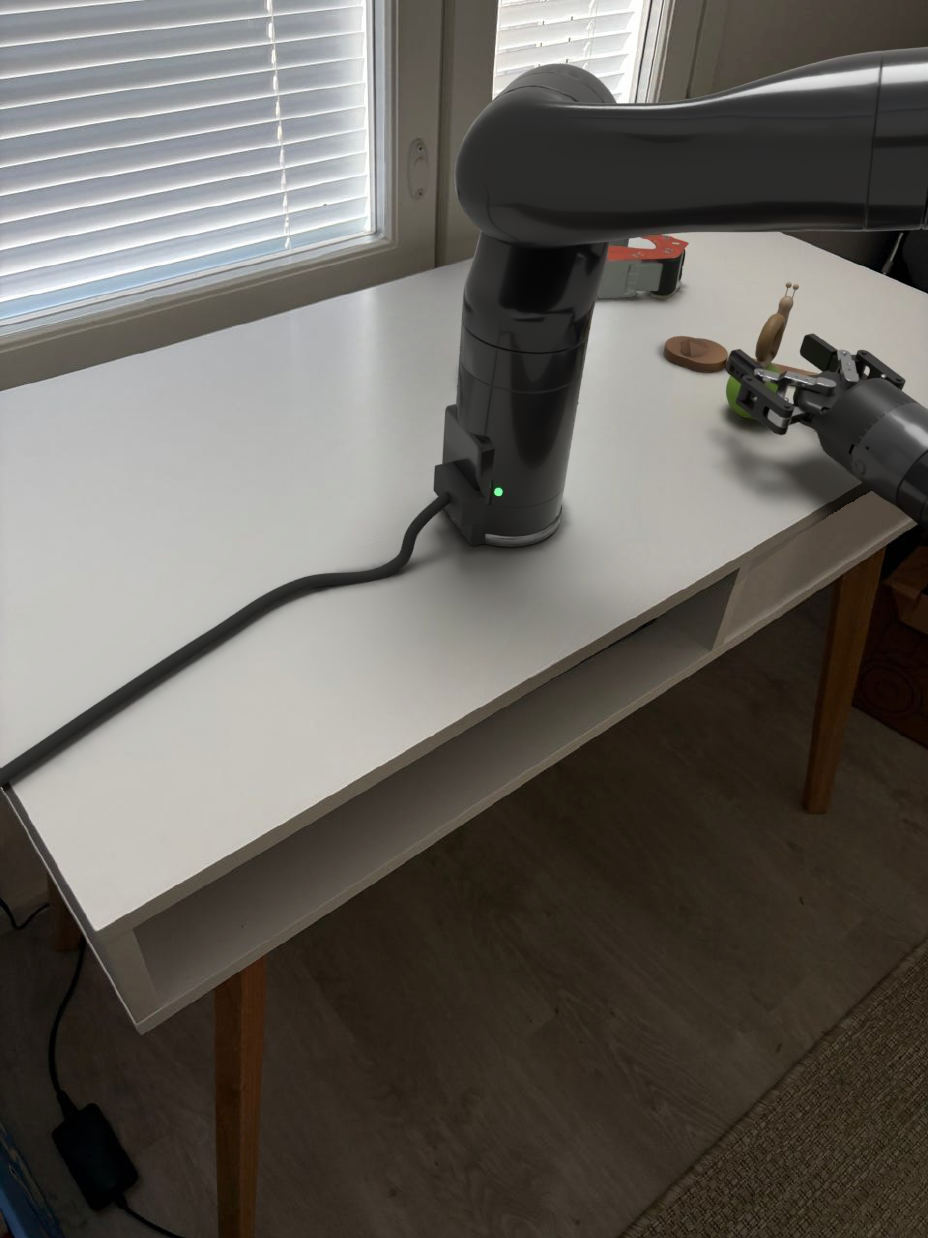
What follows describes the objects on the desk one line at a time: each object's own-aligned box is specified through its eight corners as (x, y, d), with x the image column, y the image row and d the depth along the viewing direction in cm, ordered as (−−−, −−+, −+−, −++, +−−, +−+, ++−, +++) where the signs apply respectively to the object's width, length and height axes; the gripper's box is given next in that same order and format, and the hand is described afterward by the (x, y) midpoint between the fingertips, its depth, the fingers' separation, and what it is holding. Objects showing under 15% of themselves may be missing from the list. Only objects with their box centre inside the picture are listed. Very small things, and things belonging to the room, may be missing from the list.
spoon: (858, 383, 103) (861, 374, 102) (854, 408, 99) (857, 399, 99) (669, 339, 107) (671, 330, 107) (658, 361, 104) (660, 352, 103)
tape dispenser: (537, 346, 107) (710, 322, 111) (540, 301, 103) (720, 278, 107) (492, 265, 119) (650, 245, 122) (493, 221, 115) (657, 202, 118)
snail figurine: (785, 405, 99) (823, 290, 91) (767, 436, 95) (805, 318, 87) (732, 388, 101) (764, 273, 92) (712, 418, 97) (744, 301, 88)
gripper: (972, 388, 83) (840, 300, 93) (840, 422, 78) (715, 325, 88) (937, 463, 88) (815, 372, 98) (811, 500, 83) (696, 400, 93)
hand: (768, 350), depth 93 cm, fingers open, 8 cm apart
